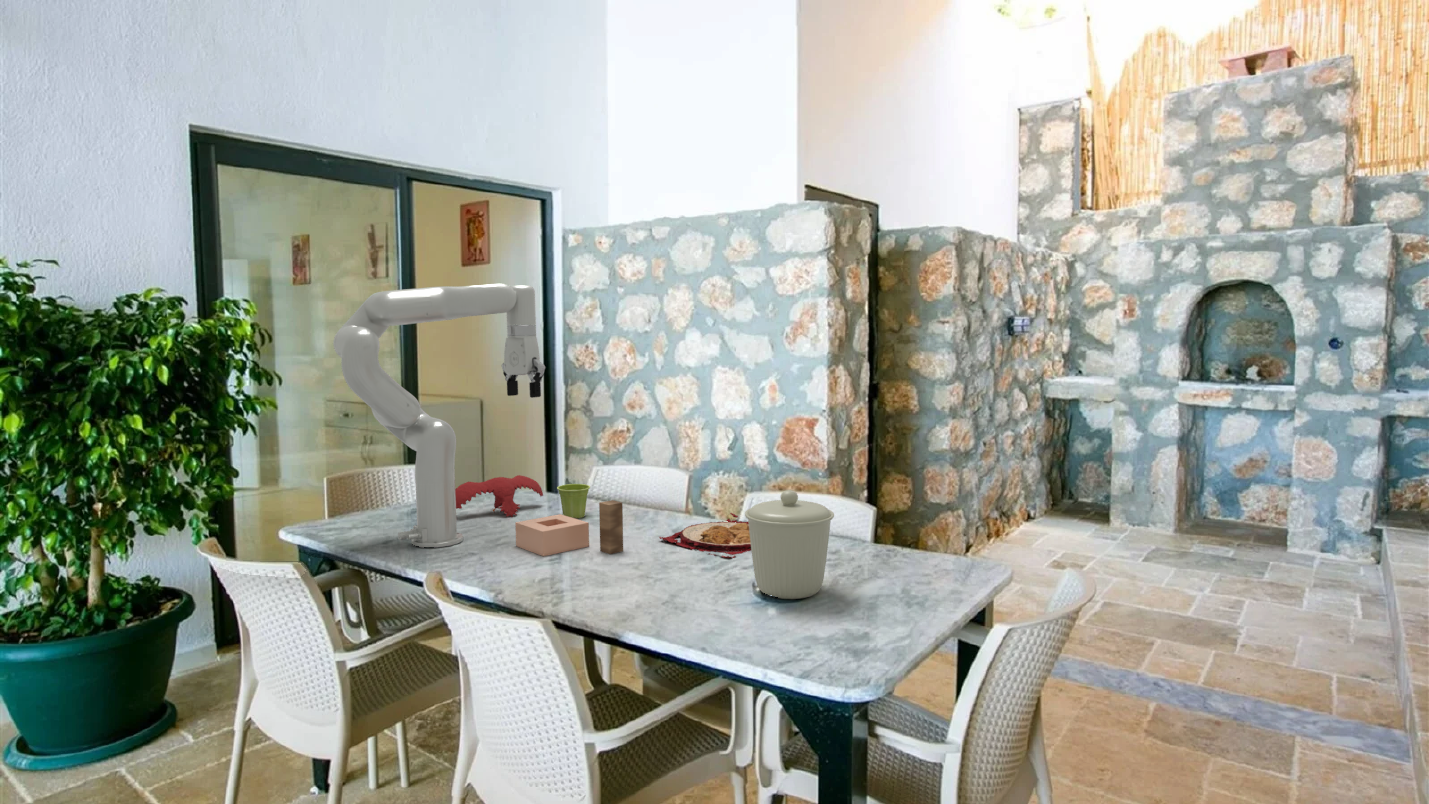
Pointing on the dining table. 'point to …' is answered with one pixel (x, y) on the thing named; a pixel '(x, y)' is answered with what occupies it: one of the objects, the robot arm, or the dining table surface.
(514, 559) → the dining table surface
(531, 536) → the pink planter box
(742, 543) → the plate with food
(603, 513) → the walnut peg
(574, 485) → the plant pot
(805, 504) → the canister
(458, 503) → the decorative bird sculpture
